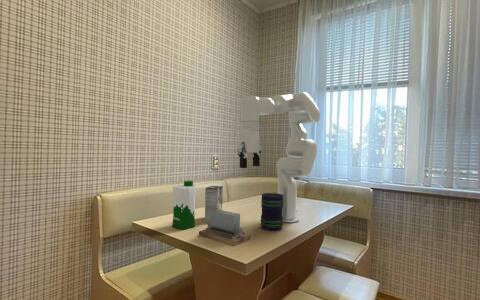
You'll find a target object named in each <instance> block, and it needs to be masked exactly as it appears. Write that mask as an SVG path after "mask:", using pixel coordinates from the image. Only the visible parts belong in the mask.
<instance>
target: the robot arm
mask: <svg viewBox="0 0 480 300" xmlns="http://www.w3.org/2000/svg"><path fill="white" fill-rule="evenodd" d="M287 112H288V122H289V126H290V129H291V133H290V136H289V139H288V142H287V144H286V147H285V154H286V156H285V157H284V156H283V157H280V158H279V159H278V160H277V162H276V173H277V174H276V175H277V194H282V195H283V208H282V216H283V223H297V222H299V221H300V217H299V216H297V213H298V212H299V211H298V209H297V200H298V199H297V198H298V197H297V196H298V184H297V182H296V180H295V178H307V177H309V176H310V174H311V172H312V170H313V167H314V164H315V160H316V156H317V153H318V146H317V144H316V142H315V141H314V140H313V139H307V138H308V132H307V130H306V129H305V127H304V126H303V125H307V124H308V125H309V124H310V125H311V124H316V123H318V122H319V121H320V118H321V112H320V108H319V107H318V105H317V104H316V103H315V101H314V99H313V98H312V97H311V96H310V94H309V93H307V92H298V93H289V94H279V95H277V94H276V95H273V96H267V97H265V96H264V97H261V96H260V97H258V96H256V95H245V96H241V99H240V129H239V134H238V135H239V136H238V146H237V147H236V150H237V151H236V152H237V155H238V158H239V169H247V168H248V157H247V156H248V154H252V155H253V156H252V166H253V167H260V164H261V163H260V161H261V159H260V157H261V153H262V148H263V147H262V145H261V139H260V138H261V137H260V131H259V130H260V116H268V115H275V114H282V113H287ZM294 177H295V178H294Z"/></svg>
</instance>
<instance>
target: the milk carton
mask: <svg viewBox="0 0 480 300" xmlns="http://www.w3.org/2000/svg"><path fill="white" fill-rule="evenodd" d="M197 188H198V186H197V185H194V181H193V180H184V181H183V184H179V185H174V186H172V192H173V211H172V212H173V216H172V228H175V229H178V230H181V231H184V230H187V229H192V228H195V227H196V219H195V217H196V216H195V214H196V213H195V211H196V209H195V207H196V193H197Z"/></svg>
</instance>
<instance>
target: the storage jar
mask: <svg viewBox="0 0 480 300" xmlns="http://www.w3.org/2000/svg"><path fill="white" fill-rule="evenodd" d="M260 205H261V215H260V229H261V230H263V231H267V232H280V231H282V230H283V225H284V222H283V216H282V208H283V195H282V194H278V192H277V193H275V192H265V193H262V194H261V202H260Z"/></svg>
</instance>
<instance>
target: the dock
mask: <svg viewBox="0 0 480 300" xmlns="http://www.w3.org/2000/svg"><path fill="white" fill-rule="evenodd" d="M198 236H200V237H203V238H207V239H210V240H212V241H213V240H214V241H217V242H220V243H225V244H228V245H231V246H237V245H239V244H241V243H243V242H245V241H248V240H249V239H251V234H250V233H249V234H248V233H244V229H243V227H240V228H238V235H237V236H235V237H233V234H229V233H225V232H221V231H217V230H213V229H210V220H208V221H207V227H205V228H204V229H203V230H200V231H199V230H198Z"/></svg>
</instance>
